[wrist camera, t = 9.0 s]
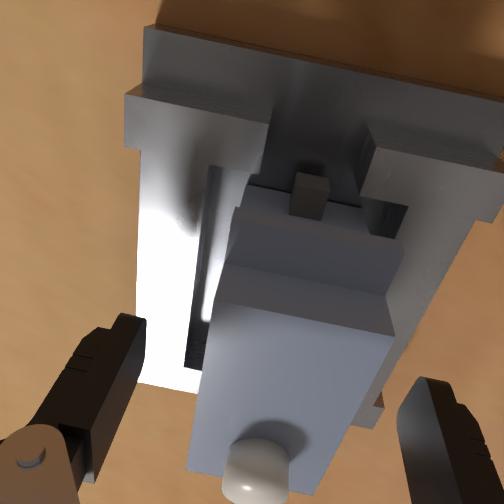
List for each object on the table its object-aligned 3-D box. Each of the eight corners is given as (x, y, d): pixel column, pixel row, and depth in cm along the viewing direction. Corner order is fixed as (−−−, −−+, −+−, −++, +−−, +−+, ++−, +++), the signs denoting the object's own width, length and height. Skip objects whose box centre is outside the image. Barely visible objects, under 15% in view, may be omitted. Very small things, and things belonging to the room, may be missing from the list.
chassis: (154, 23, 13) (124, 32, 10) (510, 99, 13) (550, 123, 11) (141, 358, 21) (123, 400, 19) (355, 401, 21) (361, 448, 19)
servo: (252, 148, 13) (212, 283, 7) (375, 174, 13) (431, 328, 7) (215, 352, 19) (174, 523, 13) (303, 370, 19) (302, 549, 13)
